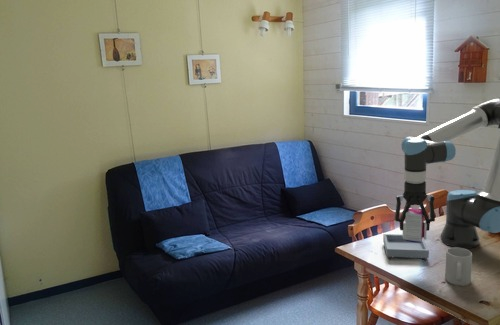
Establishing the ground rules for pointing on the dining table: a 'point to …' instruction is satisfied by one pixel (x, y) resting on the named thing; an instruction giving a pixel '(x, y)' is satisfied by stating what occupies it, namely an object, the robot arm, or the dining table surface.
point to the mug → (458, 266)
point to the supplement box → (414, 225)
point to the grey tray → (404, 247)
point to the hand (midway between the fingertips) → (414, 237)
